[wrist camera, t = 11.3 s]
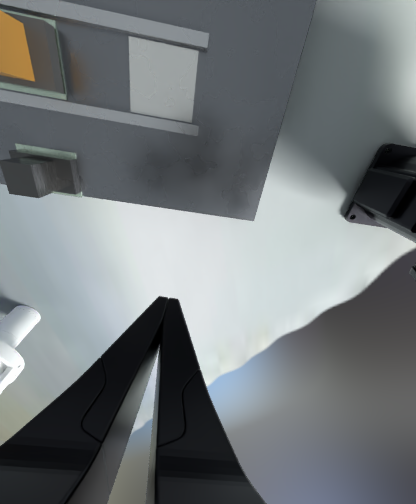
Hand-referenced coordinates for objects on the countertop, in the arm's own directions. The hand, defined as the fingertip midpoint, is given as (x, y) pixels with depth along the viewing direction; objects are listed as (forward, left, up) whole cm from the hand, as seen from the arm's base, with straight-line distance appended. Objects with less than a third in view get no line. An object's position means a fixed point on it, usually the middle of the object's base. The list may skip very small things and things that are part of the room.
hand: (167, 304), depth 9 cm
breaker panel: (+4, -9, -12) cm, 15 cm away
